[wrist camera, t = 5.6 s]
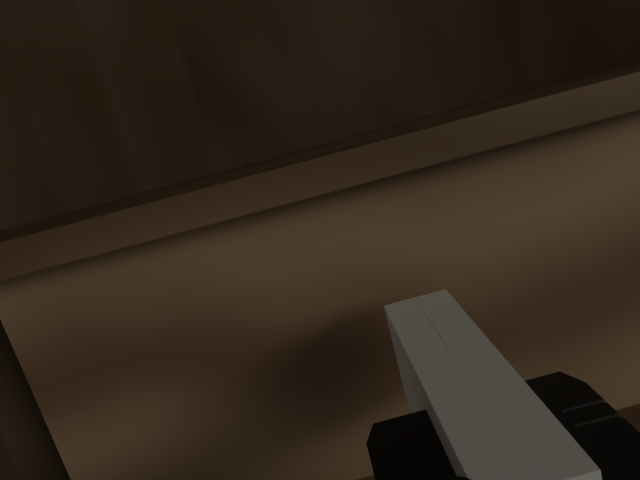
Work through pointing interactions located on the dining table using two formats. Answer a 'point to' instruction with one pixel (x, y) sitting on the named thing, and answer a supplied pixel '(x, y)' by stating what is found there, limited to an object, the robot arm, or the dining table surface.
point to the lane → (331, 286)
